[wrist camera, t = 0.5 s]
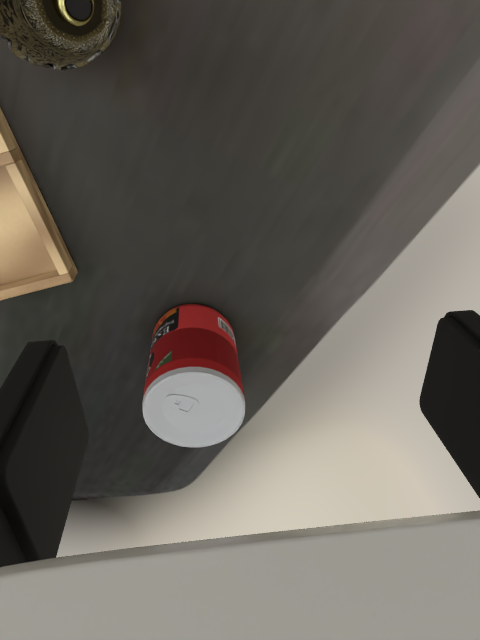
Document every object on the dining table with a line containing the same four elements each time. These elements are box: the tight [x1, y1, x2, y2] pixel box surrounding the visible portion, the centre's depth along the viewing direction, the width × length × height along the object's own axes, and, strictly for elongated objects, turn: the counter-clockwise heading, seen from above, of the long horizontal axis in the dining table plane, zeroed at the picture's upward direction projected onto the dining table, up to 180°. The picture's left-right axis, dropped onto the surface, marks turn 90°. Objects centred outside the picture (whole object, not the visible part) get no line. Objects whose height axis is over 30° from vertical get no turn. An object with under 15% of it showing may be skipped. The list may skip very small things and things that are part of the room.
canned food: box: [143, 304, 245, 447], centre depth 38 cm, size 8×8×11 cm
